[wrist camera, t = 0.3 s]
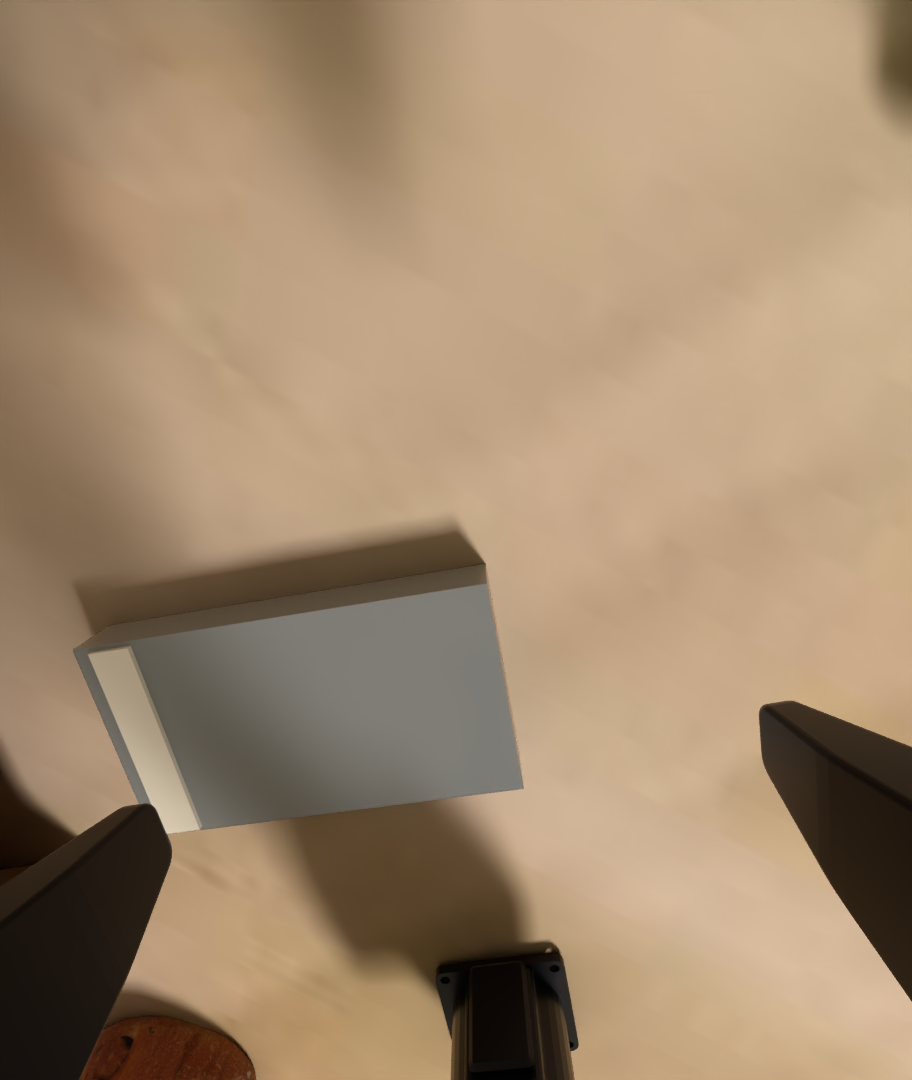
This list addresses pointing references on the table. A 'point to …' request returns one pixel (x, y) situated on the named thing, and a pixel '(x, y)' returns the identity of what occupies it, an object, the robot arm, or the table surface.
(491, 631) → the slate slab
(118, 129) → the table surface
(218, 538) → the table surface
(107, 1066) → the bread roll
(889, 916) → the robot arm
